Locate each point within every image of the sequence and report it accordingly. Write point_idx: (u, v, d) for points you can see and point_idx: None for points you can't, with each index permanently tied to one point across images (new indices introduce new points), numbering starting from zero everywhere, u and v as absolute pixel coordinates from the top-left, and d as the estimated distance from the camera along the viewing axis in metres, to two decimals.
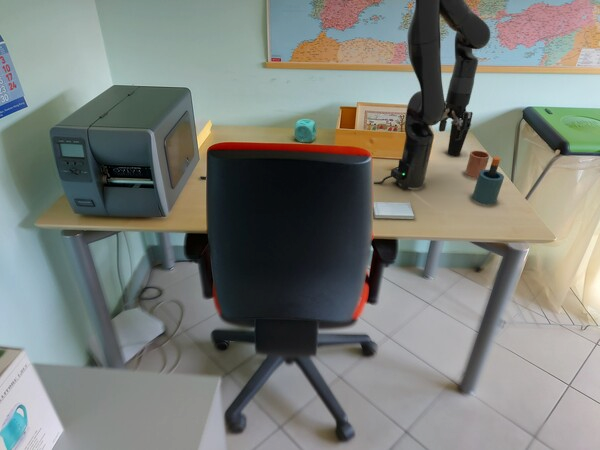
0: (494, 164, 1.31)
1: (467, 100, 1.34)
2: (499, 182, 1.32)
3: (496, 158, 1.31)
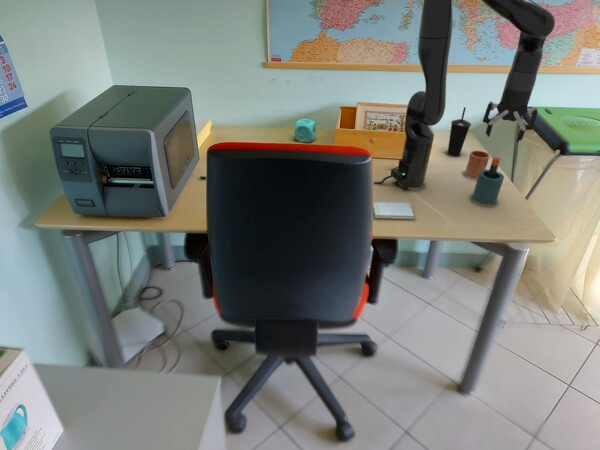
0: (494, 164, 1.31)
1: None
2: (499, 182, 1.32)
3: (496, 158, 1.31)
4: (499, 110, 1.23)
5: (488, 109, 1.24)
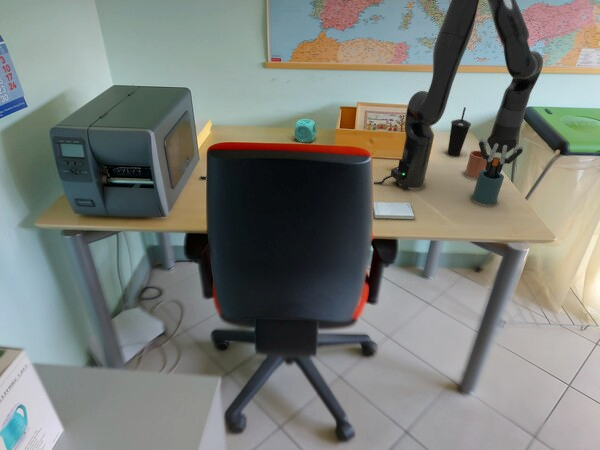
0: (494, 164, 1.31)
1: None
2: (499, 182, 1.32)
3: (496, 158, 1.31)
4: (490, 146, 1.29)
5: (481, 147, 1.30)
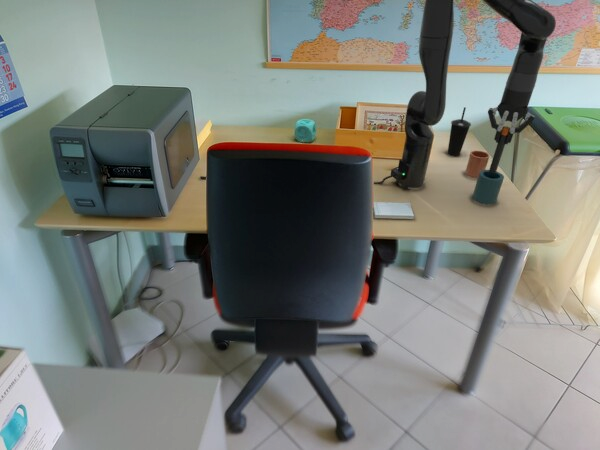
0: (504, 134, 1.25)
1: None
2: (499, 182, 1.32)
3: (506, 127, 1.25)
4: (500, 114, 1.23)
5: (490, 115, 1.24)
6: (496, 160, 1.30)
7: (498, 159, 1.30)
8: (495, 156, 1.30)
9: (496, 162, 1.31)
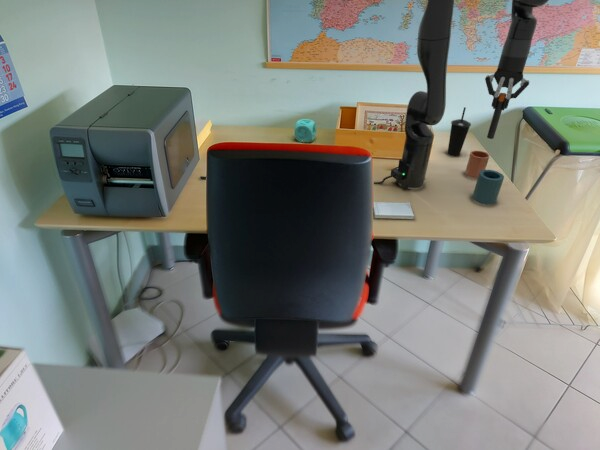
0: (500, 100, 1.32)
1: None
2: (499, 182, 1.32)
3: (503, 93, 1.32)
4: (496, 81, 1.30)
5: (487, 82, 1.31)
6: (493, 126, 1.37)
7: (495, 125, 1.37)
8: (492, 122, 1.37)
9: (494, 128, 1.37)
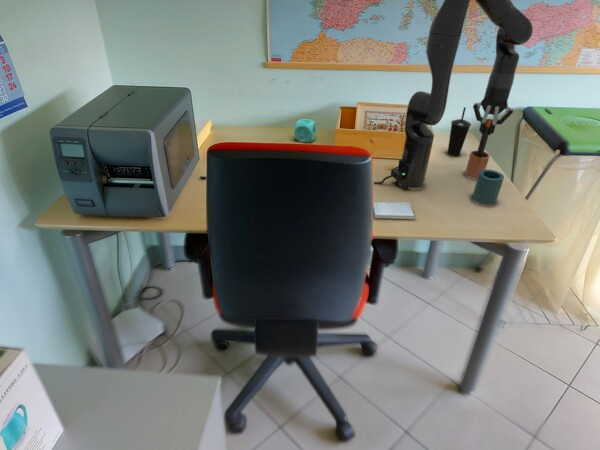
0: (487, 125, 1.43)
1: None
2: (499, 182, 1.32)
3: (489, 120, 1.43)
4: (483, 108, 1.41)
5: (475, 109, 1.42)
6: (481, 149, 1.48)
7: (483, 148, 1.48)
8: (480, 145, 1.48)
9: (481, 150, 1.49)
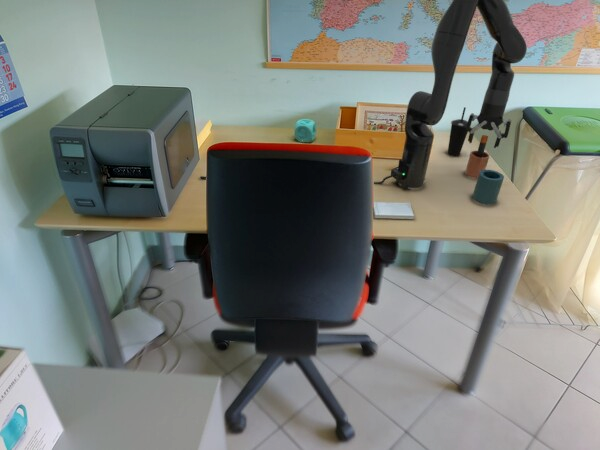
0: (482, 141, 1.47)
1: None
2: (499, 182, 1.32)
3: (485, 136, 1.46)
4: (479, 121, 1.44)
5: (470, 120, 1.45)
6: None
7: None
8: None
9: None
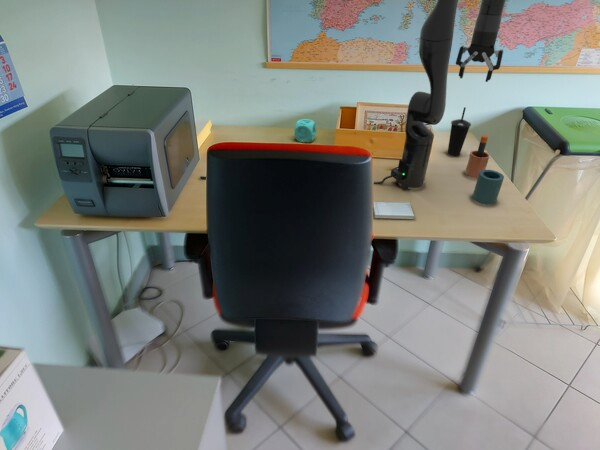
0: (482, 141, 1.47)
1: None
2: (499, 182, 1.32)
3: (485, 136, 1.46)
4: (469, 52, 1.37)
5: (460, 52, 1.39)
6: None
7: None
8: None
9: None
